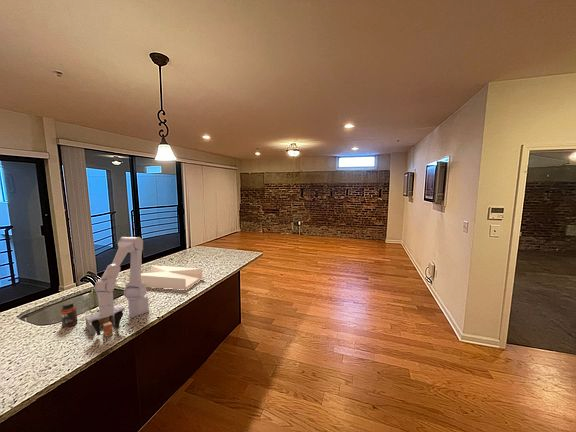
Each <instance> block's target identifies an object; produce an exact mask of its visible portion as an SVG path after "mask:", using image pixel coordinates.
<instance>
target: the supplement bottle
mask: <svg viewBox="0 0 576 432" xmlns="http://www.w3.org/2000/svg"><path fill="white" fill-rule="evenodd" d="M77 314H78V313H77V306H76V305H74V301H68V302H65V303H63V304H62V308H61V309H60V316H61V317H60V318H61V327H63V328H68V327H72V326H74V325H76V324H78V315H77Z"/></svg>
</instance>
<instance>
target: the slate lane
mask: <svg viewBox="0 0 576 432" xmlns="http://www.w3.org/2000/svg"><path fill="white" fill-rule="evenodd" d="M97 314H99V312H97V313H94V314H91V315H88V316H85V327H86V329H87V330H88V333H89V334H90V336H92V335H96V330H95V328H94V327H93V325H92V324H91V323H90V324H89V323H88V318H90V317H92V316H95V315H97ZM109 321H110V322H111V323H112V325H114V326H115V318H114V314H113V315H111V316H109Z"/></svg>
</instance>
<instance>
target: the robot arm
mask: <svg viewBox="0 0 576 432" xmlns="http://www.w3.org/2000/svg"><path fill="white" fill-rule="evenodd" d="M117 248H118V249H117V251H116V254H115V256H114V258H113V260H112V263H111V264H108V265H107V266H106V269H105V270H104V273H103V274H102V275H101V277H100V279H99V280H97V281H96V282H95V284H94V287H93V290H94V291H95V293H96V295H97V299H98V310H99V311H98V313H99V314H97V313H96V314H97V315H95V316H92V317H90V318H88V323H89V324H90V323H91V324H92V325H93V327H94V328H95V334H96V335H97V336H101V328H100V322H99V321H98V320H99V319H102V318H105V317H108V316H111V315H113V314H114V318H115V325H114V326H115V328H116V329H118V328H119V327H120V322H121V320H122V317H123V316H124V312H125V310H126V309H125V307H124V305H123V306H119V307H116V308H115V303H114V289H115V288H116V285H117V277H118V276H119V273H120V271H121V270H122V269H121V265H122V263H123V262H124V259H125V258H126V256H127V254H128V253H130V263H129V264H130V267H129V268H130V269H129V274H130V282H129V281H128V282H127V283H126V284H125V286H124V287H125V288H124V290H123V297H125V298H126V300H127V303H128V311H126V312H125V313H126V314H127V316H128V317H130V318H135V317H137V316H140V315H143V314H146V313H148V312H150V306H149V304H150V303H149V297H148V296H147V288H146V284H145V283H144V282H143V281H141V273H142V259H143V258H142V255H143V249H144V239H142V238H141V237H140V236H137V237H135V236H121V237H120V238H119V240H118V242H117Z"/></svg>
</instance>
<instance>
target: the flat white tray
mask: <svg viewBox="0 0 576 432" xmlns="http://www.w3.org/2000/svg"><path fill="white" fill-rule="evenodd" d="M150 271H151V272H145V273H142V272H141V281H143V282H144V283H145V284H146V287H155V288H173V289H184V290H186V289H188V288H189V287H191V286H192V285H193V284H195V283H196V282H198V281H199V280H200V279H202V280H203V268H195V267H183V266H182V267H181V266H167V265H165V266H164V265H154V264H153V265H152V264H151V265H150ZM129 282H130V273H129V274H128V283H129Z"/></svg>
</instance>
